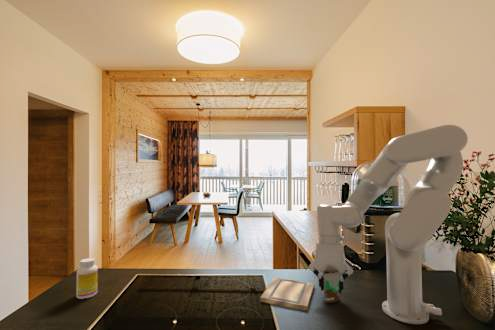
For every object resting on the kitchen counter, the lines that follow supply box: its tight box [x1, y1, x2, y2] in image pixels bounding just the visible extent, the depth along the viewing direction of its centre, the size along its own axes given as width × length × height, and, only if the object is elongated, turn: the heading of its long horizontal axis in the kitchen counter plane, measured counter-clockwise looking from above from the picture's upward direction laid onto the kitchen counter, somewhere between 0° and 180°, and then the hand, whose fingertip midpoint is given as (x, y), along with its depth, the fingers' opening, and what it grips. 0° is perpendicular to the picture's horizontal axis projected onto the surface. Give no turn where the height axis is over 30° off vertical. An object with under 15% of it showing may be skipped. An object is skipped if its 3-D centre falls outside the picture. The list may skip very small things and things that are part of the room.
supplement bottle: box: [75, 257, 99, 300], centre depth 93 cm, size 7×7×13 cm
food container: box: [322, 271, 342, 304], centre depth 89 cm, size 12×6×10 cm, turn 168°
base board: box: [259, 277, 315, 311], centre depth 93 cm, size 16×18×2 cm
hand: (331, 289), depth 89 cm, fingers closed on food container, 5 cm apart
